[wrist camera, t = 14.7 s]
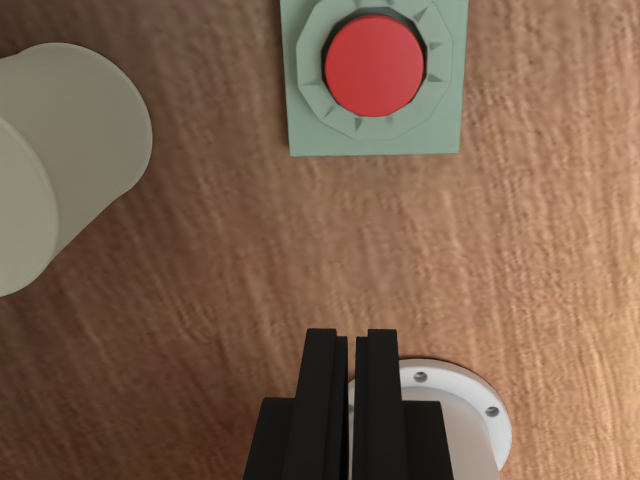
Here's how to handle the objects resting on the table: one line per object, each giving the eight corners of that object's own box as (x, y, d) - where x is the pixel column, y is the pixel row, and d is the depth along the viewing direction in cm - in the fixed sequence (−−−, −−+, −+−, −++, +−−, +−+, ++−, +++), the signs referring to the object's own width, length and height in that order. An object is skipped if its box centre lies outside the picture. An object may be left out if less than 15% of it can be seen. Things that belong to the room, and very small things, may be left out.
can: (-27, 45, 32) (-228, 88, 21) (137, 38, 31) (17, 79, 20) (17, 203, 36) (-132, 307, 25) (165, 200, 35) (76, 307, 24)
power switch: (454, 145, 32) (464, 164, 29) (293, 147, 33) (285, 167, 30) (466, -58, 28) (479, -61, 25) (280, -50, 29) (270, -51, 26)
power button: (419, 107, 29) (422, 116, 27) (328, 110, 29) (326, 118, 27) (422, 11, 27) (425, 14, 25) (325, 14, 27) (323, 18, 26)
